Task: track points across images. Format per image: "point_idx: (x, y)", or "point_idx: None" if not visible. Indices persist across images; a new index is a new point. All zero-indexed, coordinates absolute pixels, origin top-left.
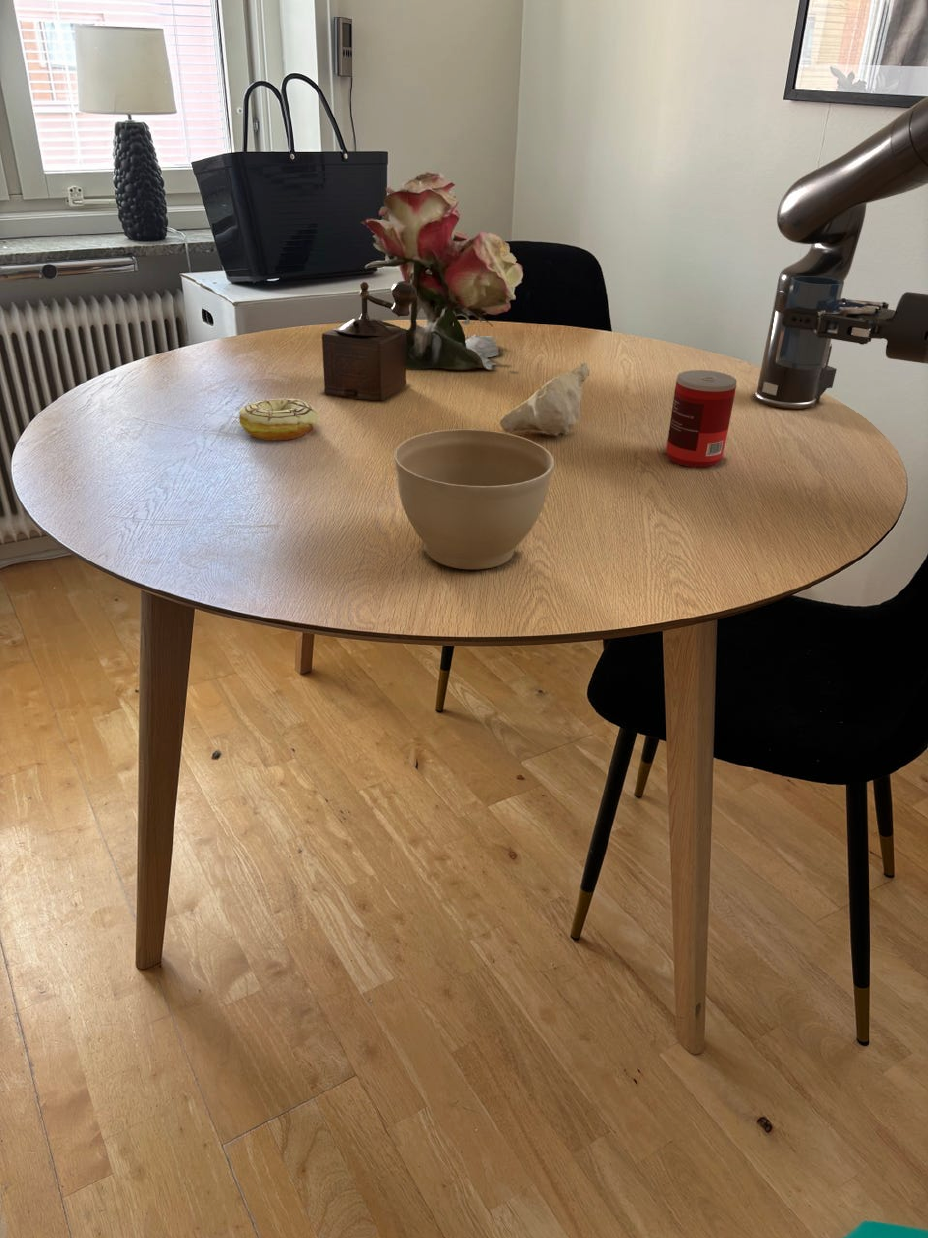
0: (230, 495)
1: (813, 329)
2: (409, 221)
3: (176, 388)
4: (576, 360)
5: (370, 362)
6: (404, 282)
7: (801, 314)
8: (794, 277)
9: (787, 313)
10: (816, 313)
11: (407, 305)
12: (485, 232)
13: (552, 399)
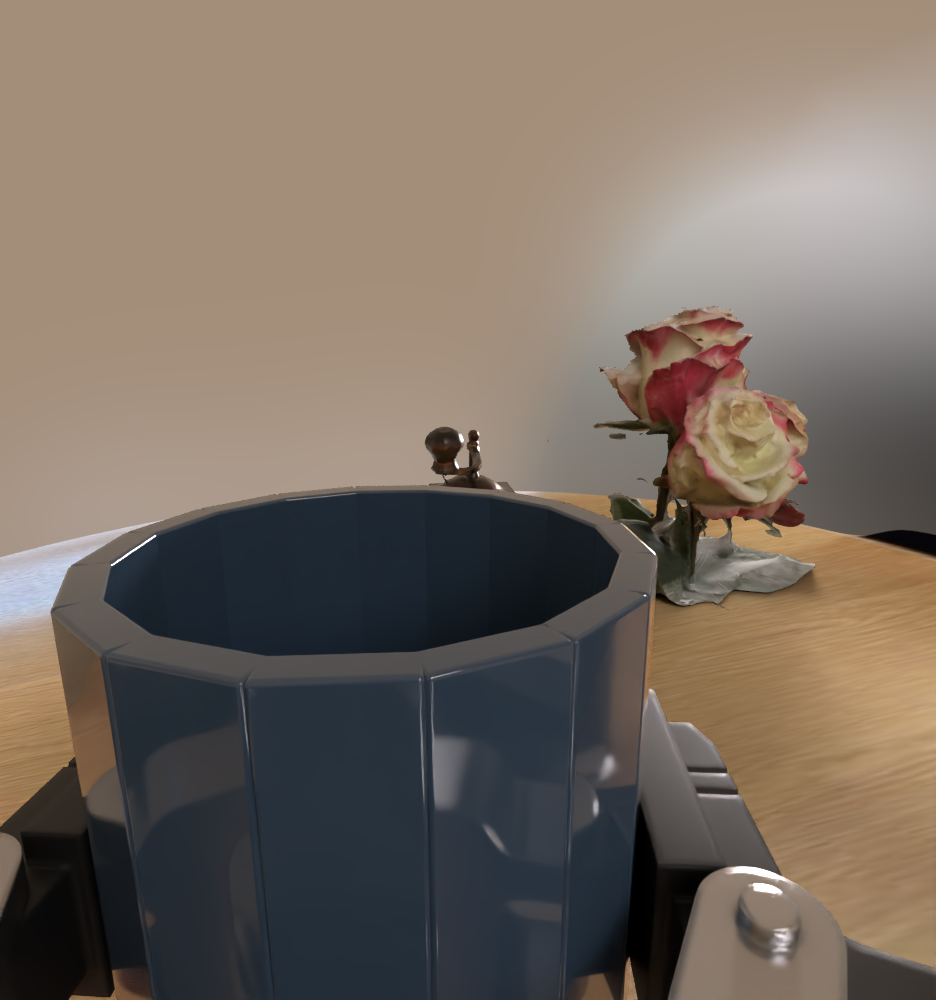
0: (51, 598)
1: (81, 993)
2: (645, 371)
3: None
4: (899, 655)
5: None
6: (445, 429)
7: (64, 770)
8: (422, 489)
9: None
10: (26, 851)
11: (440, 460)
12: (731, 388)
13: None
